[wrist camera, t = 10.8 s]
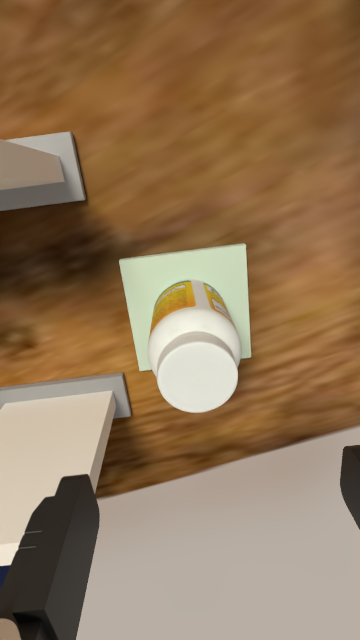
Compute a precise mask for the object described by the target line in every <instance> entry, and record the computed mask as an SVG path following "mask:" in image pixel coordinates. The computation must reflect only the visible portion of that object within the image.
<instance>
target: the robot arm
mask: <svg viewBox="0 0 360 640" xmlns="http://www.w3.org/2000/svg"><path fill="white" fill-rule="evenodd" d="M340 486H341V492H342V495H343V498H344V501H345V503H346V505H347V507H348V509H349V511H350V512H351V514H352V516H353V518H354V520H355V522H356V524H357V525H358V527H359V529H360V445H355V446H346V447H344V449H343V456H342V466H341V478H340ZM98 529H99V508H98V504H97V500H96V497H95V494H94V490H93V487H92V484H91V480H90V477H89V475H88V474H81V475H72V476H64V477H62V478H61V480H60V482H59V485H58V488H57V491H56V493H55V496H49V497H45V498H44V499H43V500H42V502H41V503H40V504H39V505H38V506H37V508H36V509H35V510H34V511H33V513H32V515H31V517H30V519H29V522H28V524H27V527H26V529H25V531H24V532H25V534H24V535H23V536H22V539H21V541H20V544H19V546H18V551H16V553H15V556H14V558H13V560H12V563H11V565H10V568H9V570H8V573H7V575H6V577H5V580H4V582H3V585H2V587H1V589H0V640H76V636H77V631H78V626H79V621H80V617H81V611H82V607H83V602H84V597H85V592H86V588H87V583H88V578H89V573H90V568H91V563H92V558H93V554H94V549H95V544H96V539H97V534H98Z"/></svg>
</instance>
